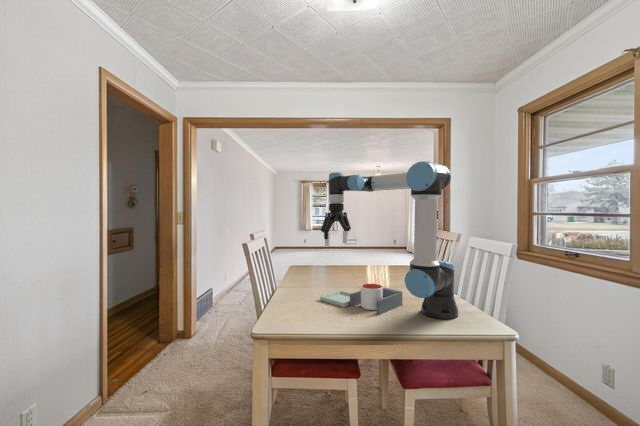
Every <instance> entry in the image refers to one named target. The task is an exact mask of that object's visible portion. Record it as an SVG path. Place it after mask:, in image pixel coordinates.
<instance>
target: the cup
mask: <svg viewBox="0 0 640 426" xmlns="http://www.w3.org/2000/svg"><path fill="white" fill-rule="evenodd" d="M383 287H384V286H383V285H381V284H377V283H365V284H361V286H360V291H361V304H360V306H361V307H362V308H363V309H364V310H367V311H377V300H380V299H383Z"/></svg>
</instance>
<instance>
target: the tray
mask: <svg viewBox="0 0 640 426" xmlns="http://www.w3.org/2000/svg"><path fill="white" fill-rule="evenodd" d="M351 293H352V292H351V291H350V292H349V291H346V290H342V289H341V290H337V291H334V292H330V293H327V294H324V295H320V296H319V301H320V302H324V303H328V304H330V305H334V306H336V307H337V306H338V307H340V308H344V309H345V308H347V307H350V294H351Z"/></svg>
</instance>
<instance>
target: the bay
mask: <svg viewBox="0 0 640 426" xmlns="http://www.w3.org/2000/svg"><path fill="white" fill-rule="evenodd" d="M382 287H383V299H380V300H377V310H376V315H377V316H378V315H382V314H384V313H387V312H390V311H392V310H394V309H397V308H399V307H402V305H403V290H402V289H401V290H399V289H396V288H392V287H386V286H382ZM359 305H361V290H358V291H355V292H351V294H350V306H349V308H353V307H354V308H355V307H356V306H359Z"/></svg>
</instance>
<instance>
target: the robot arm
mask: <svg viewBox="0 0 640 426" xmlns="http://www.w3.org/2000/svg"><path fill="white" fill-rule="evenodd" d="M451 180H452V174H451V172H450V170H449V169H448V167H447V166H446V165H443V164H441V163H435V162H431V161H425V160H423V161H417V162H415V163H413V164H412V165H411V166H410V167H409V168H408V170H407V172H402V173H393V174H382V175H381V174H380V175H372V176H364V175H363V176H362V175H360V174H351V175H344V173H343V172H338V171H337V172H330V173H329V175H328V181H327V182H328V211H329V212H325V216H324V220H323V222H322V225H321V229H320V232H322V233H323V236H324V237H323V239H324V246H327V247H330V246H331V240H330V239H331V236H330V235H331V233H330V230H331V228H332V227H333V226H334V225H333V224H334V223H335V222H338V223H339V225H340V226H341V228H342V229H343V230H342V243H343V244H349V243H348V238H349V232H350V231H351V229H352V227H351V224H350V221H349V218H348V213H347V212H346V211H345V212H344V210H345V209H344V202H345V201H344V194H345V193H344V192H369V193H370V192H371V193H372V192H378V191H379V192H380V191H390V190H391V191H393V190H394V191H395V190H410V196H411V198H412V199H414V229H413V230H414V231H413V232H414V234H413V258H412V259H411V260H410V262H409V270H408V271H407V272H406V274H405V276H404V285H405V288H406V289H407V291H408V292H409V293H410V294H411V295H412V296H414V297H416V298H420V299H423V301H422V303H421V307H420V308H421V310H420V311H421V313H422V314H423V315H424V316H426V317H430V318H433V319H439V320H440V319H441V320H452V319H455V318H457V317H459V308H458V305H457V303H456V302H457V301H456V300H455V272H456V271H455V265H454V263H453V262H450V261H444V260H437V233H438V232H437V231H438V230H437V228H438V227H437V226H438V225H437V224H438V221H437V220H438V199H440V198H441V196H442V191H443V190H445V189H446V188H447V187H448V186H449V185H450V183H451Z"/></svg>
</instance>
